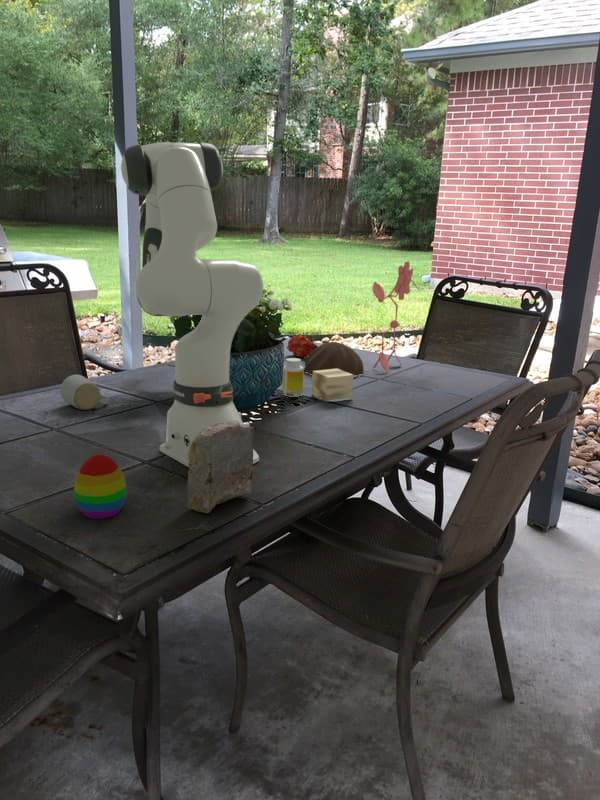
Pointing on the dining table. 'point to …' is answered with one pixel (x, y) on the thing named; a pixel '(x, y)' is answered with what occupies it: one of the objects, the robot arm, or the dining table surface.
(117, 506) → the decorative egg
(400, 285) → the figurine
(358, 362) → the decorative dome
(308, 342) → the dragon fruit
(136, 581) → the dining table surface
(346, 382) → the beech block
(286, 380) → the supplement bottle
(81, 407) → the ceramic mug
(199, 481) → the geological specimen
